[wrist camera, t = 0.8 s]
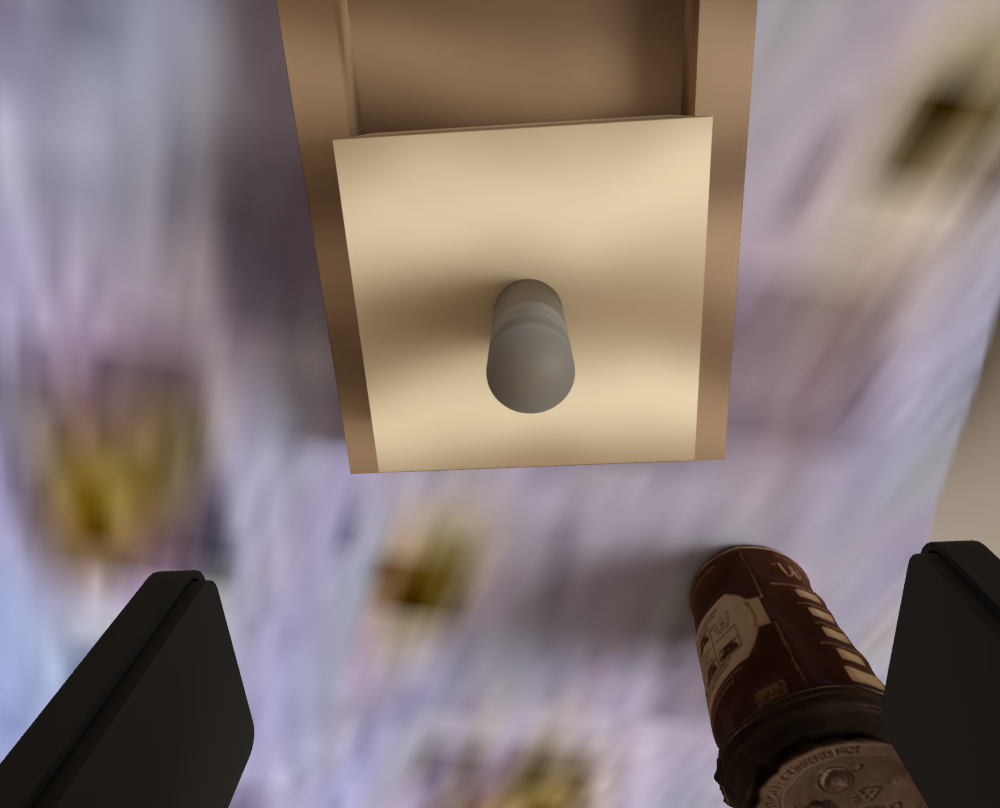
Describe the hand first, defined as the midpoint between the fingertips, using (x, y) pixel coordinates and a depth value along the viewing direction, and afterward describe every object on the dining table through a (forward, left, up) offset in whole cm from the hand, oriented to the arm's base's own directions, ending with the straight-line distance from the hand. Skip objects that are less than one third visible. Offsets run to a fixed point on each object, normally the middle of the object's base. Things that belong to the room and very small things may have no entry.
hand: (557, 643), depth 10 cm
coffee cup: (+18, +11, -24) cm, 32 cm away
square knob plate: (0, 0, -24) cm, 24 cm away
